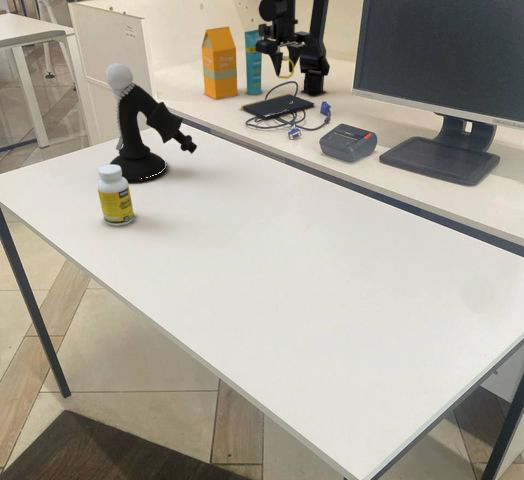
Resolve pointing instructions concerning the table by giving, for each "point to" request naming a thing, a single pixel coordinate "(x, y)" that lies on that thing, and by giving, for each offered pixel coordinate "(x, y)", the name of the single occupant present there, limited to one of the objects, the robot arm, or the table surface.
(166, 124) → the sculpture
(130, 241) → the table surface
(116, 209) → the pill bottle
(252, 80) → the tube
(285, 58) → the watch
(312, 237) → the table surface
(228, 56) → the orange juice
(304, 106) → the dark rectangular board
